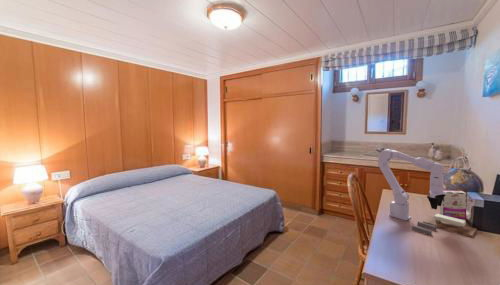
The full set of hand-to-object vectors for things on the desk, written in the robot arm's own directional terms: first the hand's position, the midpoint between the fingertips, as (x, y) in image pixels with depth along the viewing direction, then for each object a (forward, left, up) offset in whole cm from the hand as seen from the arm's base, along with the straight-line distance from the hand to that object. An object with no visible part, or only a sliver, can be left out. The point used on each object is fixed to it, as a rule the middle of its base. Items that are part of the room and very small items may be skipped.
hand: (436, 207), depth 119 cm
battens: (-2, -12, -10) cm, 16 cm away
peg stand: (+5, +2, -10) cm, 12 cm away
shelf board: (+5, +2, -7) cm, 9 cm away
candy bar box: (+3, +20, -11) cm, 23 cm away
